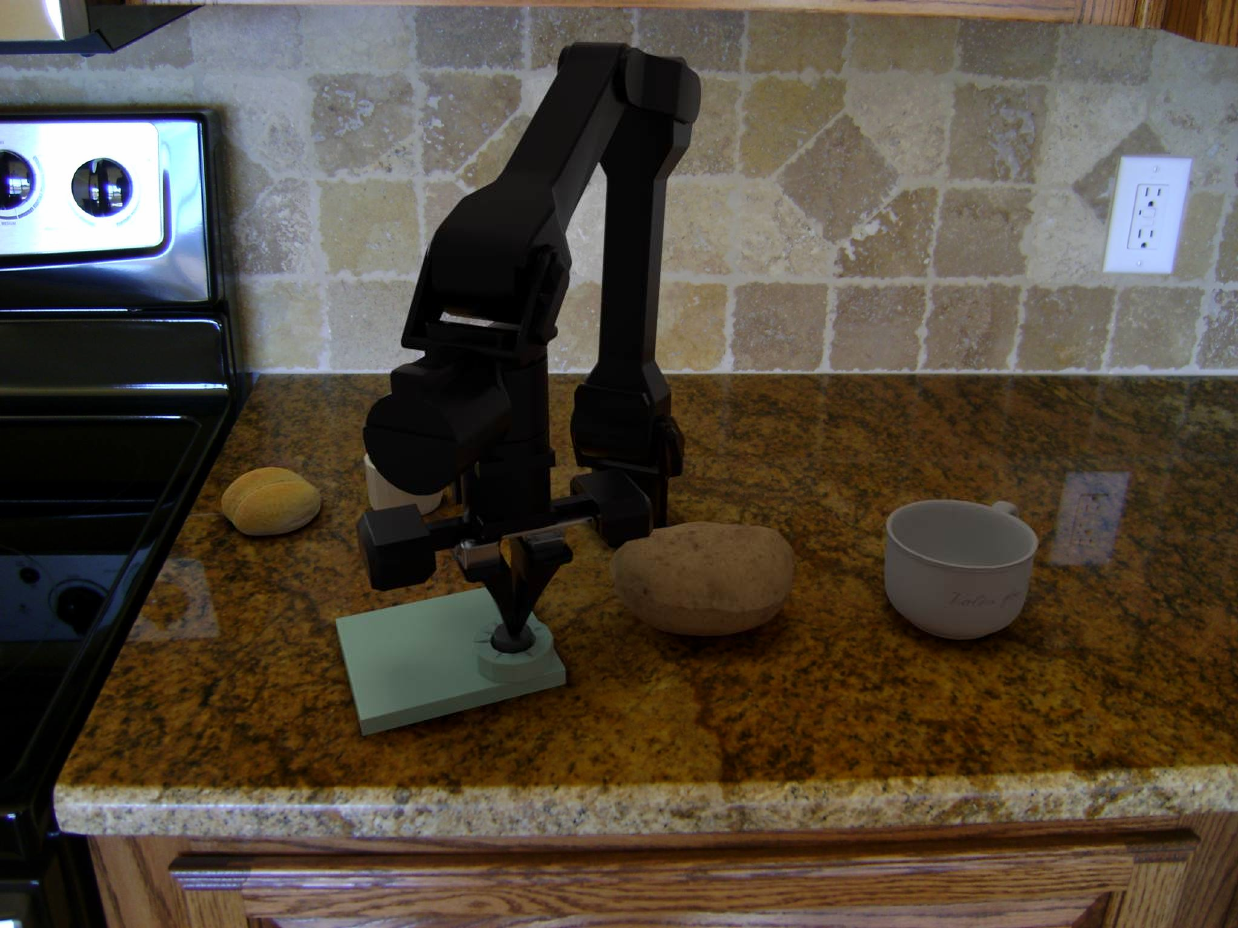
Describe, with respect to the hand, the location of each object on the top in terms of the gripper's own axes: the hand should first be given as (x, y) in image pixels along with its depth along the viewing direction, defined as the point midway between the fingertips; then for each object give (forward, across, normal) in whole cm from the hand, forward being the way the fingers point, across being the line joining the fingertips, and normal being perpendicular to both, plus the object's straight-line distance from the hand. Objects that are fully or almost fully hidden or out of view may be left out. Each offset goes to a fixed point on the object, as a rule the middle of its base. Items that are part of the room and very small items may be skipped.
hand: (512, 631), depth 65 cm
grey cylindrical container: (+4, +2, -28) cm, 29 cm away
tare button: (+1, 0, 0) cm, 1 cm away
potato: (+4, -15, 0) cm, 16 cm away
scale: (+4, +4, -4) cm, 6 cm away
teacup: (+4, -35, +6) cm, 36 cm away
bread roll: (+4, +14, -30) cm, 34 cm away
